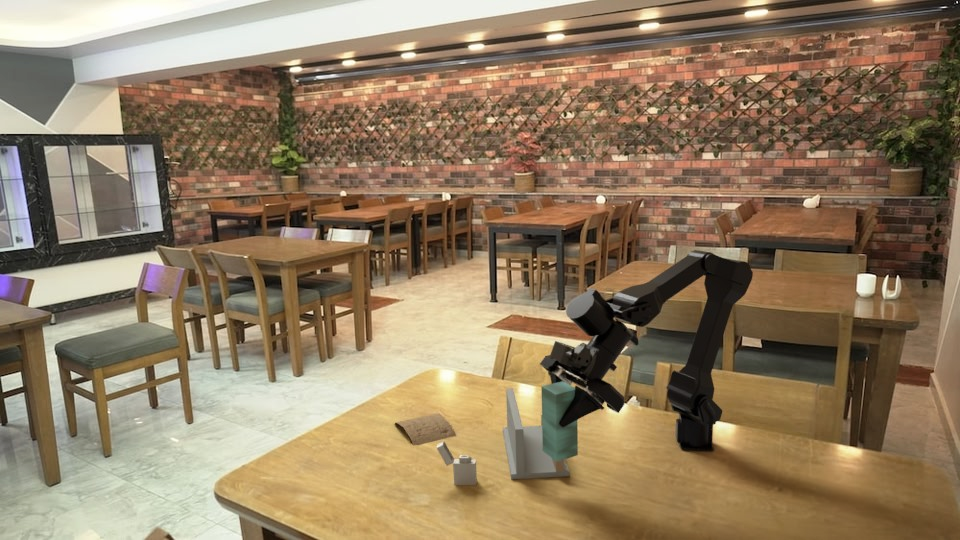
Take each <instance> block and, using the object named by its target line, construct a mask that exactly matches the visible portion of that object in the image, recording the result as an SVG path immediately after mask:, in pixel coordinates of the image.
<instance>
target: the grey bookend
mask: <svg viewBox="0 0 960 540" xmlns="http://www.w3.org/2000/svg"><path fill="white" fill-rule="evenodd" d="M505 390H506V391H505V392H506V393H505V394H506V423H507V424H506V426H507V427H502V433H503V439H504V441H503V442H504V446H505V450H506V451H505V452H506V457H507V463H508V467H509V469H508V470H509V473H510V479H511V480H523V479H524V480H525V479H541V478H543V479H544V478H558V477H569V476H570V470H569V467H568V464H567V462H566V459H564V460H561V461H557V462H556V461H555V460H554V459H552V458H551V457H550V456H549V455H547V454H546V453H545V452H543V439H542V414H540V425H526V426H525V425H524V426H523V423H522V418H521V415H520V409H519V406H518V402H517V398H516V395H515V391H514V388H513V387H512V388H505Z"/></svg>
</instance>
